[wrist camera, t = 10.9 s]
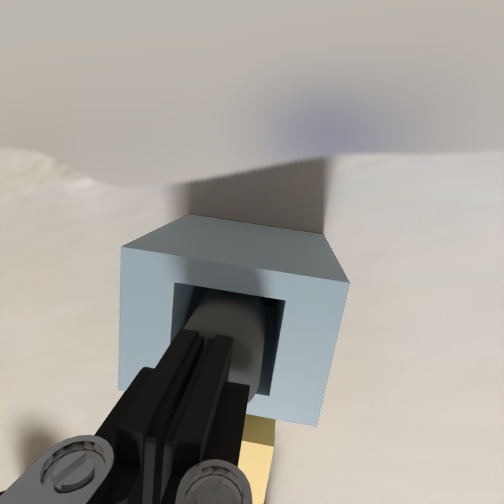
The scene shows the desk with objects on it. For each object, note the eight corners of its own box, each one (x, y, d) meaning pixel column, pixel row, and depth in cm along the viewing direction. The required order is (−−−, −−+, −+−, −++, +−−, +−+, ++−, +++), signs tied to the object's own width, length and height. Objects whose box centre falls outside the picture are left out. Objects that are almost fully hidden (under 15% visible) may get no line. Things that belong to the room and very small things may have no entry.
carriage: (279, 339, 20) (274, 446, 12) (265, 417, 22) (254, 554, 14) (201, 326, 20) (149, 422, 13) (193, 403, 22) (144, 530, 14)
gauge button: (272, 289, 13) (265, 339, 9) (261, 352, 14) (252, 422, 10) (201, 278, 13) (167, 322, 10) (195, 340, 14) (162, 405, 10)
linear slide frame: (323, 234, 18) (356, 294, 10) (256, 576, 26) (241, 778, 18) (188, 213, 19) (105, 254, 10) (161, 555, 27) (102, 741, 18)
